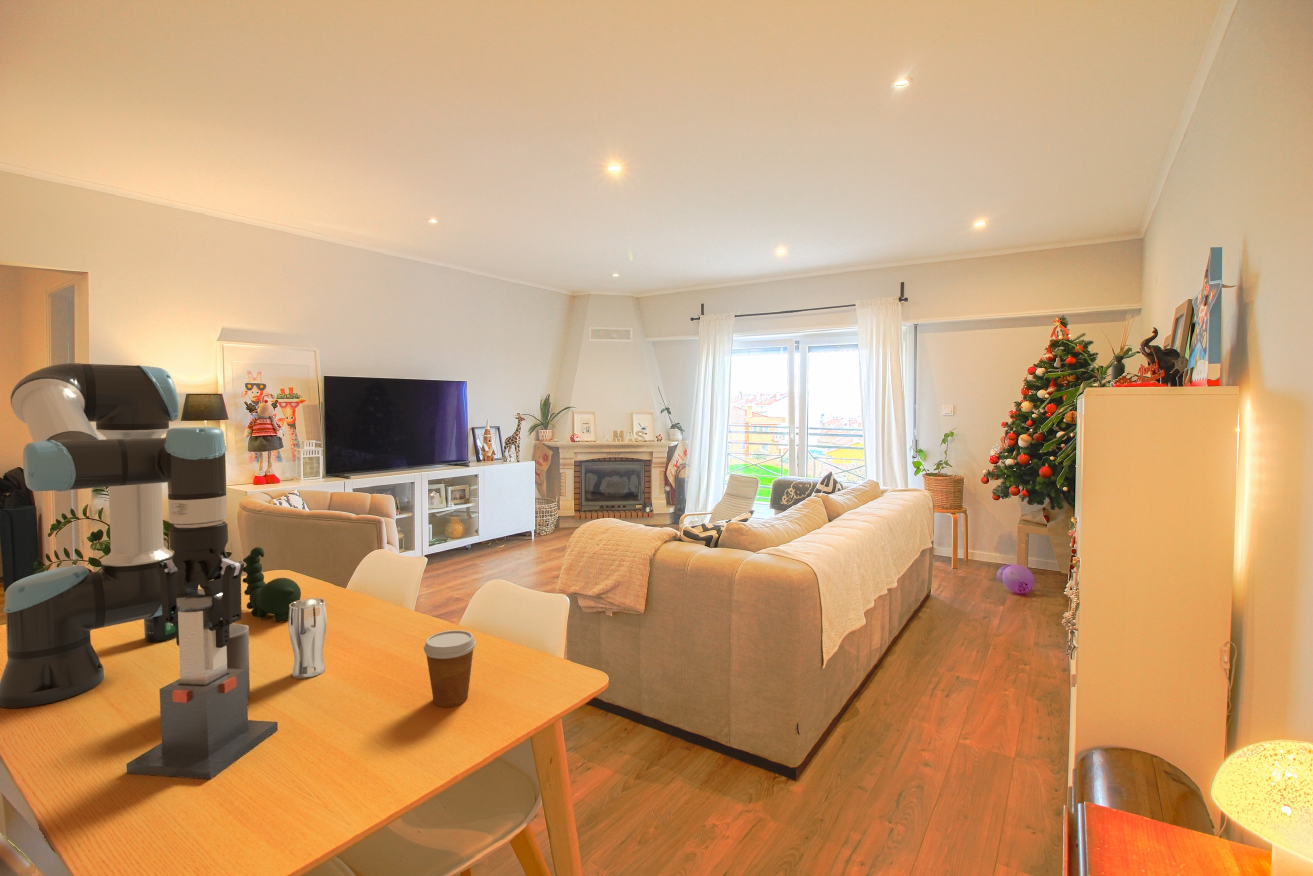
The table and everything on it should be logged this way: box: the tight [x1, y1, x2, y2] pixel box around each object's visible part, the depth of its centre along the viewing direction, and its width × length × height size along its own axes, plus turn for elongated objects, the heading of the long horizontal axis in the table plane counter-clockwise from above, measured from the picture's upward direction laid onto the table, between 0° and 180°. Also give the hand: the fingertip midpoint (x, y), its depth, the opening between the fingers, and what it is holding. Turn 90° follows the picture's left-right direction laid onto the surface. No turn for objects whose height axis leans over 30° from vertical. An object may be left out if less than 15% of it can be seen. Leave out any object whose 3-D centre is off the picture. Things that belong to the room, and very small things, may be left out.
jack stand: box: [126, 668, 279, 780], centre depth 99 cm, size 14×14×12 cm
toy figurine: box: [241, 546, 302, 623], centre depth 162 cm, size 9×19×25 cm
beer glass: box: [288, 597, 328, 680], centre depth 128 cm, size 7×7×15 cm
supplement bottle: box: [143, 611, 176, 643], centre depth 147 cm, size 7×7×12 cm
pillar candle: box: [227, 623, 251, 701], centre depth 115 cm, size 10×10×15 cm
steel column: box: [176, 588, 227, 687], centre depth 98 cm, size 6×6×24 cm
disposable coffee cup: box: [423, 629, 477, 708], centre depth 116 cm, size 10×10×12 cm
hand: (203, 665), depth 98 cm, fingers closed on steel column, 4 cm apart
